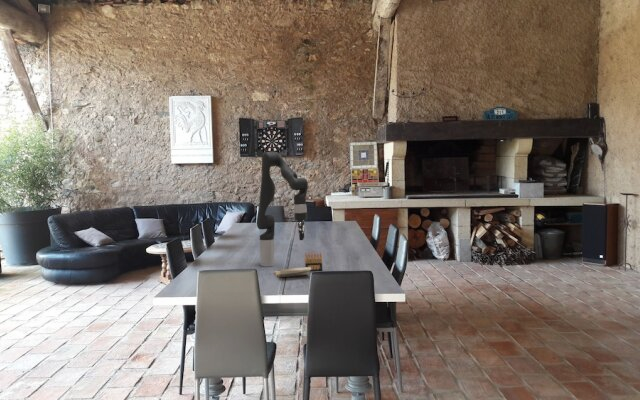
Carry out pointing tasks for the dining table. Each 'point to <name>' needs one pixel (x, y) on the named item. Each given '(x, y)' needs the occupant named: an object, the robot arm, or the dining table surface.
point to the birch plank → (294, 272)
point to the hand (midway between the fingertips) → (302, 239)
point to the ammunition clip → (312, 264)
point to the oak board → (276, 273)
